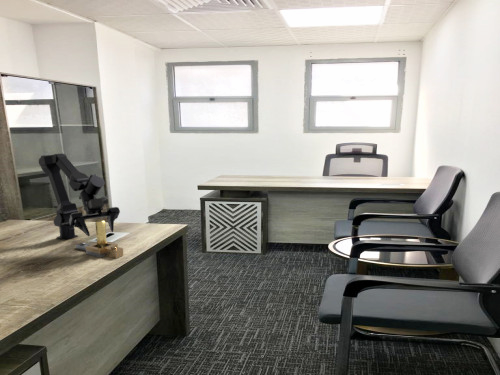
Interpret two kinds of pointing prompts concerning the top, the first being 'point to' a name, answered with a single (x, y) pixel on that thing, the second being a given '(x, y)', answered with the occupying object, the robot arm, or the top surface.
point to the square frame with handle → (101, 250)
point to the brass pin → (101, 233)
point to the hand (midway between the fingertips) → (101, 233)
